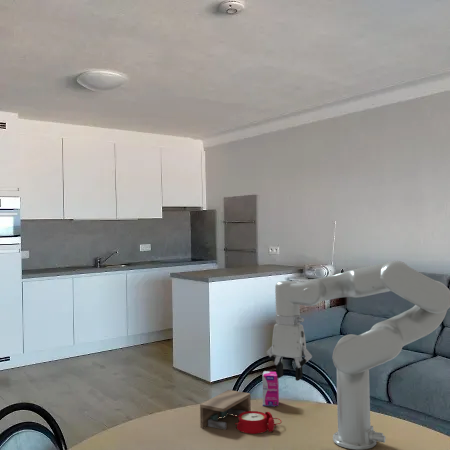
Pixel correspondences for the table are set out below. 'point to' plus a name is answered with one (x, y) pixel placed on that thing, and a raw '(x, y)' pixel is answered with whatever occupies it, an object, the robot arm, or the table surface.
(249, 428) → the alarm clock
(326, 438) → the table surface
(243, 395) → the overhang shelf
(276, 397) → the supplement box
